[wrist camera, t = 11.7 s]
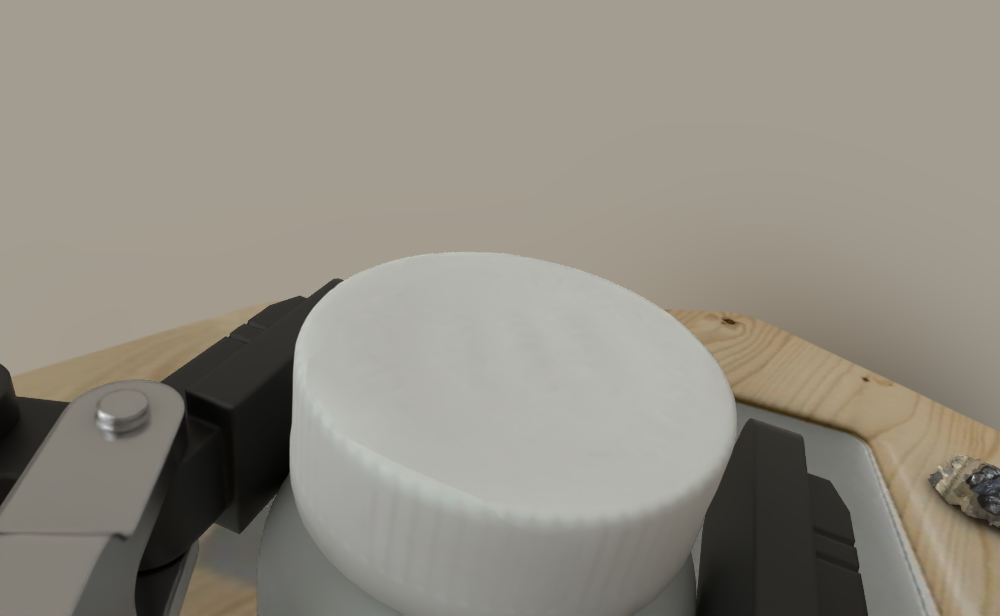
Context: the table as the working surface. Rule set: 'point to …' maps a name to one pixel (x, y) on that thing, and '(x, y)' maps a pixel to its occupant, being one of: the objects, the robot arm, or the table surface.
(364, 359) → the pill bottle
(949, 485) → the grey irregular flat piece
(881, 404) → the table surface
